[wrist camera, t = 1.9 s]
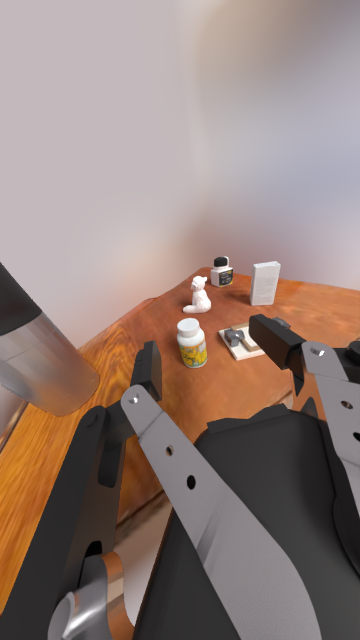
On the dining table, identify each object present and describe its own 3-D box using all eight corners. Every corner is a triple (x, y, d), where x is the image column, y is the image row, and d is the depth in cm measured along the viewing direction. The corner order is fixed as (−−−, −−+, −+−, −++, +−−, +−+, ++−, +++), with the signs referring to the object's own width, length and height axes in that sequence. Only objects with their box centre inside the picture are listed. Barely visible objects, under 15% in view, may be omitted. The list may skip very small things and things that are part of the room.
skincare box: (269, 299, 43) (276, 260, 37) (272, 305, 40) (281, 264, 34) (248, 300, 45) (252, 264, 39) (250, 306, 42) (255, 267, 36)
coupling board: (236, 360, 26) (236, 354, 25) (219, 333, 34) (218, 328, 33) (297, 345, 26) (300, 338, 26) (266, 322, 34) (268, 316, 33)
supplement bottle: (211, 354, 29) (208, 319, 24) (199, 373, 26) (192, 337, 20) (191, 347, 32) (184, 314, 27) (178, 362, 29) (167, 328, 24)
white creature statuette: (198, 301, 52) (194, 271, 46) (217, 305, 46) (216, 271, 40) (182, 313, 47) (175, 280, 40) (202, 318, 41) (198, 282, 35)
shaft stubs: (231, 347, 28) (231, 339, 27) (224, 337, 31) (224, 329, 30) (288, 333, 28) (291, 324, 27) (275, 324, 31) (277, 316, 30)
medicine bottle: (219, 288, 59) (218, 260, 53) (211, 284, 65) (209, 258, 59) (232, 283, 61) (233, 255, 54) (223, 280, 66) (223, 255, 60)
